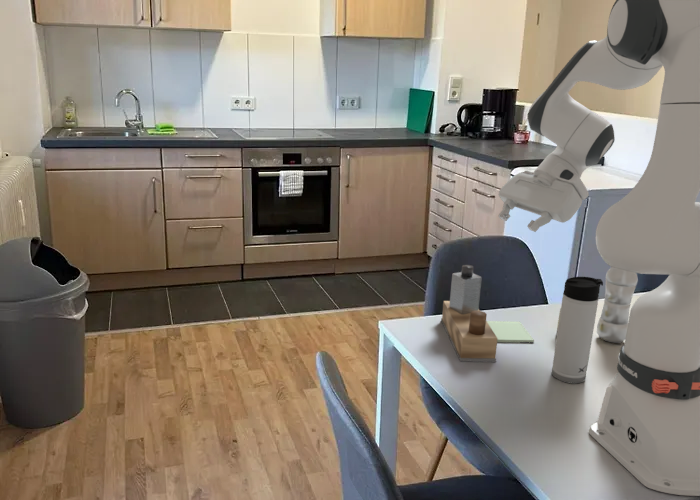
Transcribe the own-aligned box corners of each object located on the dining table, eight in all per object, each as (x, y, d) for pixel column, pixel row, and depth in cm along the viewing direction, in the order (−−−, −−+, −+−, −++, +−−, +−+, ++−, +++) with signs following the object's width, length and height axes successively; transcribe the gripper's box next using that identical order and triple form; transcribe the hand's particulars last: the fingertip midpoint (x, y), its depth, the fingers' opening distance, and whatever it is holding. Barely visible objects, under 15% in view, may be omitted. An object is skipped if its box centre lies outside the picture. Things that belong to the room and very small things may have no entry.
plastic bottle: (621, 334, 143) (636, 250, 137) (630, 347, 137) (646, 259, 131) (591, 332, 144) (605, 248, 138) (599, 345, 137) (614, 257, 132)
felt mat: (533, 342, 137) (534, 340, 137) (488, 342, 137) (488, 339, 137) (519, 324, 147) (519, 321, 147) (477, 323, 146) (477, 320, 146)
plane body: (495, 361, 128) (500, 320, 125) (460, 361, 127) (464, 319, 125) (471, 321, 147) (475, 284, 145) (441, 320, 147) (444, 283, 144)
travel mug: (589, 386, 120) (606, 286, 114) (553, 381, 121) (567, 282, 115) (584, 371, 125) (600, 275, 120) (550, 366, 127) (563, 271, 121)
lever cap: (478, 311, 140) (482, 268, 137) (461, 314, 138) (465, 270, 135) (465, 304, 144) (469, 262, 141) (449, 307, 142) (453, 264, 139)
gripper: (516, 160, 150) (479, 204, 148) (583, 177, 133) (542, 226, 131) (528, 178, 153) (492, 221, 152) (595, 196, 136) (555, 245, 134)
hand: (515, 223), depth 141 cm, fingers open, 8 cm apart
